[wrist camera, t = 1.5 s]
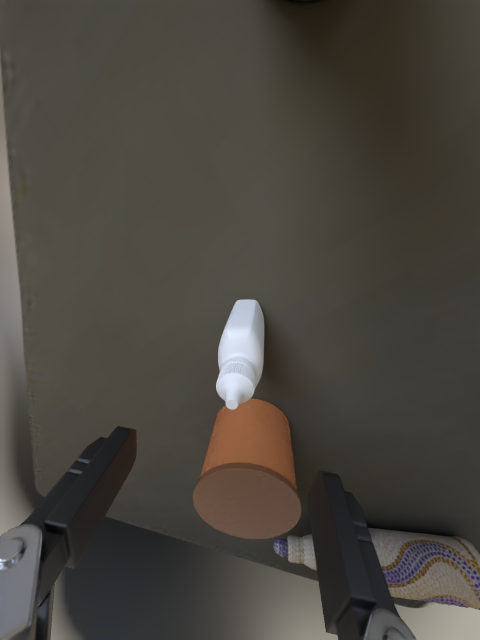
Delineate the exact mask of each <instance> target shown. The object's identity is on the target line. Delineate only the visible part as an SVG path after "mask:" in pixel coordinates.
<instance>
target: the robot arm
mask: <svg viewBox="0 0 480 640" xmlns="http://www.w3.org/2000/svg"><path fill="white" fill-rule="evenodd" d="M292 1H298V2H306V1H313V0H292ZM135 458H136V430H135V429H130V428H125V427H121V426H118V427H116V428H115V429H114V431H113V432H112V433H111V434H110V436H109V437H108V438H104V437H100V438H99V439H97V440H96V441H94V442H93V443H92V444H90V445H89V446H87V448H86V449H85V450H84V451H83V452H82V454H81V455H80V456H79V457H78V458H77V461H75V462H74V463H73V464H72V466H71V467H70V468H69V469H68V472H66V473H65V474H64V475H63V476H62V478H61V479H60V480H59V481H58V483H57V484H56V485H55V486H54V487H53V489H52V490H51V491H50V492H49V493H48V495H47V496H46V497H45V498H44V499H43V501H42V502H41V503H40V504H39V505H38V507H37V508H36V509H35V510H34V511H33V513H32V514H31V515H30V516H29V517H28V518H27V519H26V520H25V521H24V522H23V523H22V524H21V525H19V526H17V527H15V528H12V529H10V530H9V531H7V532H5V533H4V534H2V535H1V536H0V640H50V636H51V622H52V610H53V597H54V585H55V584H54V583H55V581H56V580H57V578H58V576H59V575H60V573H61V571H62V570H63V568H64V566H66V567H70V568H74V569H75V568H76V566H77V564H78V562H79V561H80V558H81V557H82V555H83V554H84V552H85V550H86V548H87V546H88V545H89V543H90V541H91V539H92V538H93V536H94V534H95V532H96V531H97V529H98V527H99V525H100V524H101V522H102V520H103V518H104V517H105V515H106V513H107V511H108V509H109V508H110V506H111V504H112V502H113V501H114V499H115V497H116V495H117V494H118V492H119V490H120V488H121V487H122V485H123V483H124V481H125V480H126V478H127V476H128V474H129V472H130V471H131V469H132V467H133V464H134V462H135ZM308 512H309V519H310V526H311V533H312V540H313V546H314V553H315V560H316V567H317V574H318V580H319V587H320V594H321V601H322V607H323V615H324V621H325V628H326V632H328V633H332V634H336V635H338V640H416V638H415V636H414V635H413V633H412V632H411V630H410V629H409V627H408V626H407V625H406V624H405V623H404V621H403V620H402V619H401V618H400V616H399V614H398V612H397V610H396V608H395V605H394V603H393V600H392V597H391V594H390V591H389V588H388V585H387V582H386V579H385V576H384V573H383V570H382V567H381V565H380V562H379V559H378V556H377V553H376V550H375V547H374V544H373V543H372V538H371V535H370V532H369V529H368V528H367V523H366V520H365V517H364V514H363V511H362V508H361V507H360V505H359V504H358V502H357V501H356V499H355V498H354V496H353V494H352V493H350V492H345V491H344V489H343V485H342V482H341V479H340V477H339V475H338V474H334V473H329V472H324V471H318V473H317V475H316V478H315V480H314V482H313V485H312V487H311V489H310V492H309V496H308Z"/></svg>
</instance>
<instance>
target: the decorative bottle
mask: <svg viewBox="0 0 480 640" xmlns="http://www.w3.org/2000/svg"><path fill="white" fill-rule="evenodd" d="M368 529H369V532H370V535H371V538H372V543H373V544H374V547H375V550H376V553H377V556H378V559H379V562H380V565H381V567H382V570H383V573H384V576H385V579H386V582H387V585H388V588H389V591H390V594H391V596H393V597H398V598H406V599H414V600H420V601H427V602H435V603H439V604H448V605H456V606H459V607H466V608H467V607H471V608H475V609H479V610H480V554H479V553H478V552H477V550H476V549H475V548H474V546H473V545H472V544H471V543H470V542H469V541H468V540H466V539H463V538H461V537H458V536H452V537H450V536H439V535H432V534H424V533H413V532H405V531H403V532H402V531H396V530H386V529H373V528H368ZM274 549H275V551H276V553H277V554H279V555H280V556H282V557H287V558H288V560H289V561H290V562H292V563H299V564H305V565H306V566H308V567H310V568H311V569H314V570H317V567H316V560H315V553H314V546H313V540H312V534H309V535H305V536H303V537H299V536H294V535H289V536H288V537H287V539H275V541H274Z"/></svg>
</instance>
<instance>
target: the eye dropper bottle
mask: <svg viewBox="0 0 480 640" xmlns="http://www.w3.org/2000/svg"><path fill="white" fill-rule="evenodd" d="M263 358H264V317H263V313H262V310H261V307H260V305H259V303H258V302H257V301H256V300H238V301H237V302H236V303H235V305H234V307H233V309H232V312H231V314H230V316H229V319H228V321H227V324H226V326H225V329H224V331H223V334H222V337H221V340H220V344H219V350H218V364H219V370H220V374H219V377H218V380H217V383H216V389H217V392H218V394H219V396H220V397H221V398H222V399H223V400H225V401H226V407H227V408H229V409H231V410H233V409H236V408H237V407H238V405H239V404H241V403H244V402H246V401H248V400H249V399H250V398H251V397H252V395H253V394H254V389H255V388H256V386H257V384H258V383H259V380H260V378H261V375H262V370H263Z"/></svg>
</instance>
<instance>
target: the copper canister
mask: <svg viewBox="0 0 480 640" xmlns="http://www.w3.org/2000/svg"><path fill="white" fill-rule="evenodd" d="M193 502H194V506H195V509H196V510H197V512H198V514H199V515H200V516H201V517H202V518H203V520H204V521H206V522H207V523H208V524H209V525H211V526H212V527H214V528H216V529H217V530H219V531H221V532H224V533H226V534H229V535H232V536H236V537H240V538H247V539H266V538H272V537H276V536H279V535H282V534H284V533H286V532H287V531H289V530H291V529H292V528H293V527H294V526H295V525H296V524H297V522H298V520H299V519H300V516H301V501H300V496H299V494H298V492H297V486H296V478H295V469H294V460H293V451H292V442H291V434H290V425H289V422H288V420H287V418H286V416H285V415H284V413H283V412H282V411H281V410H280V409H279V408H277V407H276V406H274V405H273V404H271V403H269V402H266V401H263V400H260V399H253V398H250V399H249V400H248V401H246V402H244V403H241V404H239V405H238V407H237V408H236V409H233V410H231V409H229V408H227V407H226V405H225V406H224V407H223V408H222V409H221V410H220V411H219V412H218V414H217V416H216V419H215V423H214V426H213V430H212V434H211V438H210V441H209V445H208V449H207V453H206V456H205V460H204V464H203V468H202V471H201V475H200V478H199V479H198V481H197V483H196V485H195V489H194V493H193Z"/></svg>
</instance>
